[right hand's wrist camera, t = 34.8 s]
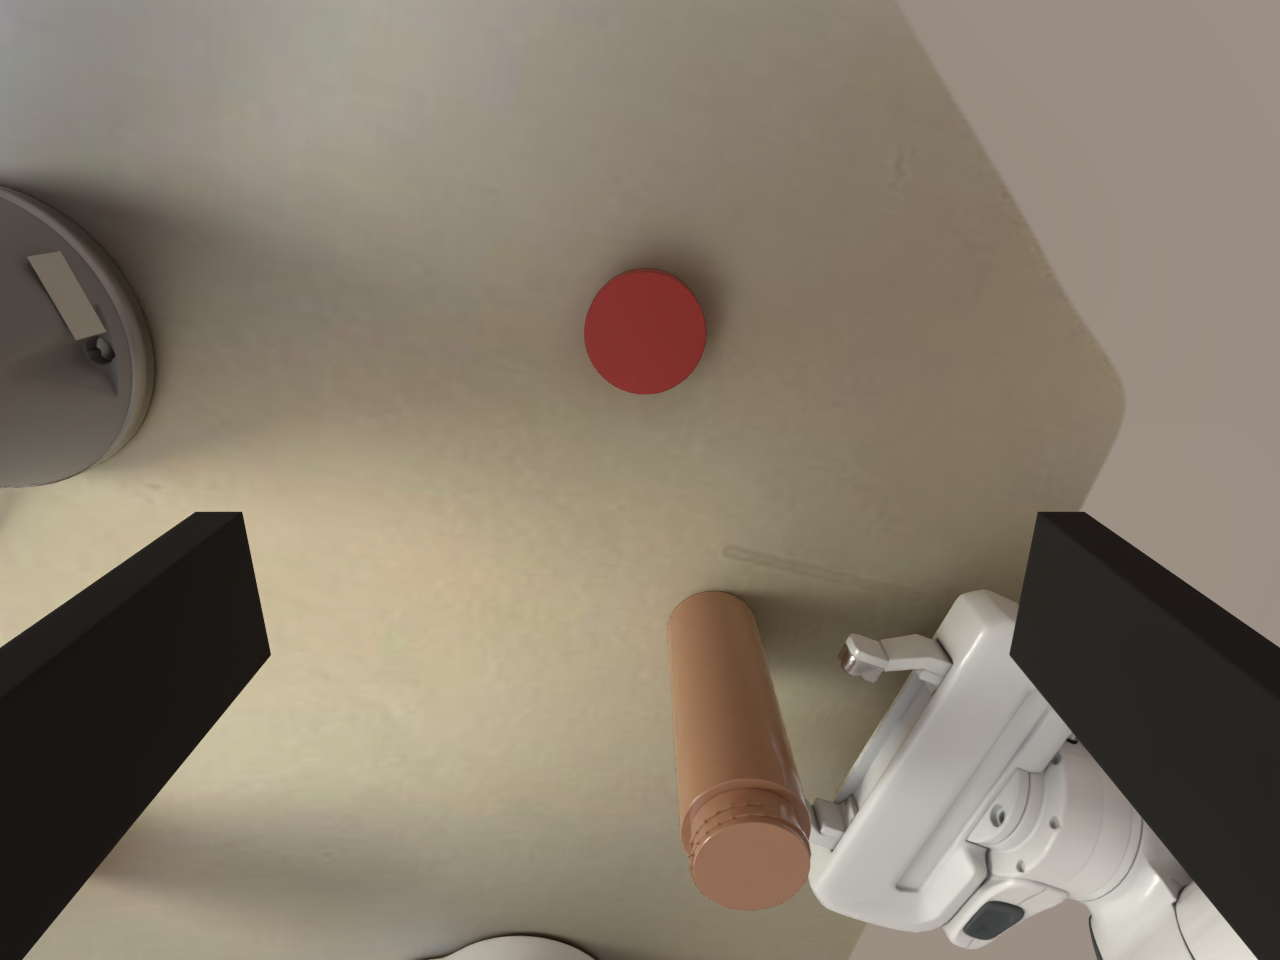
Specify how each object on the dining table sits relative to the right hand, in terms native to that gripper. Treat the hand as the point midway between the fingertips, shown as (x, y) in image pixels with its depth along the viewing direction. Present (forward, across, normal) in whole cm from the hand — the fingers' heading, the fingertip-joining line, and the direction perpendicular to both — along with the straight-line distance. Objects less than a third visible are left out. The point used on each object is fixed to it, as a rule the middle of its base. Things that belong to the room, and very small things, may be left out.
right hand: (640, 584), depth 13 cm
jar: (+28, +4, -18) cm, 34 cm away
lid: (+26, 0, 0) cm, 26 cm away
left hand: (+22, +9, -20) cm, 30 cm away
